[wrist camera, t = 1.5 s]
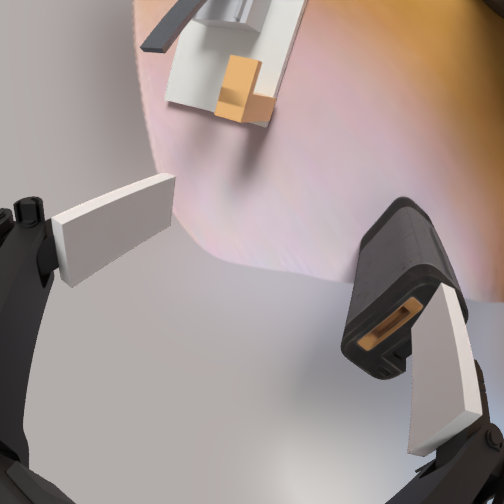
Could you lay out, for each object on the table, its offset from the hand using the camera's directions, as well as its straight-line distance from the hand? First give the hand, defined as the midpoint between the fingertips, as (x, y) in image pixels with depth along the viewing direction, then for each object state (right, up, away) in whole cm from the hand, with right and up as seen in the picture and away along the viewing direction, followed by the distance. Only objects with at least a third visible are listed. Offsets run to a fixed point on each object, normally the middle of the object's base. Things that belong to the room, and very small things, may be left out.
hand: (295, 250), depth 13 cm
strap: (-7, +26, +8) cm, 28 cm away
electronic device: (+16, +2, +21) cm, 27 cm away
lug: (0, +19, +19) cm, 27 cm away
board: (-4, +29, +17) cm, 34 cm away
